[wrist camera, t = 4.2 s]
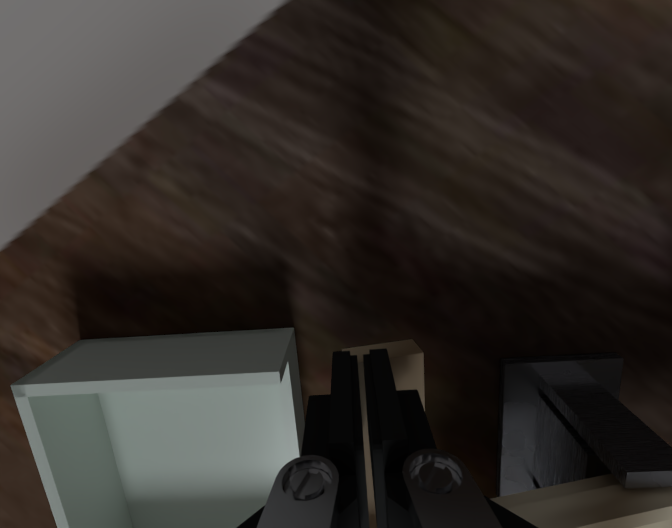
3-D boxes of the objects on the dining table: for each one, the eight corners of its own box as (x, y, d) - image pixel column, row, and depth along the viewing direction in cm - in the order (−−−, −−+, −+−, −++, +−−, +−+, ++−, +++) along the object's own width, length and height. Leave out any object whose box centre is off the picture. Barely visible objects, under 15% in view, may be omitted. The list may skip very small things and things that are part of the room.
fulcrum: (615, 352, 20) (754, 451, 13) (599, 490, 23) (710, 636, 16) (500, 358, 21) (577, 458, 14) (495, 494, 23) (559, 638, 16)
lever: (845, 276, 15) (979, 301, 12) (777, 525, 18) (871, 591, 15) (286, 357, 12) (290, 415, 9) (320, 636, 15) (331, 744, 12)
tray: (317, 532, 24) (310, 613, 20) (133, 537, 25) (87, 617, 20) (294, 327, 21) (279, 371, 16) (80, 339, 21) (10, 385, 17)
